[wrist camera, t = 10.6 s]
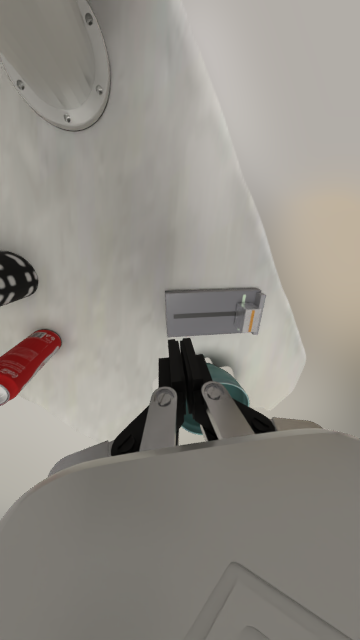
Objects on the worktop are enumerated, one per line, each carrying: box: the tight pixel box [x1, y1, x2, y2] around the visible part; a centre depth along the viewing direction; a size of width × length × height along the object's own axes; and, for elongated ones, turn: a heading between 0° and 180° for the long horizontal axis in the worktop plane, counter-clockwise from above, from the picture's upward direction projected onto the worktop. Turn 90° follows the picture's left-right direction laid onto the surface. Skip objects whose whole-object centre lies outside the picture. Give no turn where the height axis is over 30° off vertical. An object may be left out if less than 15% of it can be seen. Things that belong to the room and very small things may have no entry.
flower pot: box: [181, 363, 250, 435], centre depth 40 cm, size 16×16×11 cm
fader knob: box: [234, 302, 261, 333], centre depth 34 cm, size 5×3×4 cm, turn 1°
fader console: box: [165, 288, 266, 337], centre depth 35 cm, size 10×20×4 cm, turn 91°
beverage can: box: [0, 330, 61, 406], centre depth 29 cm, size 6×6×15 cm
